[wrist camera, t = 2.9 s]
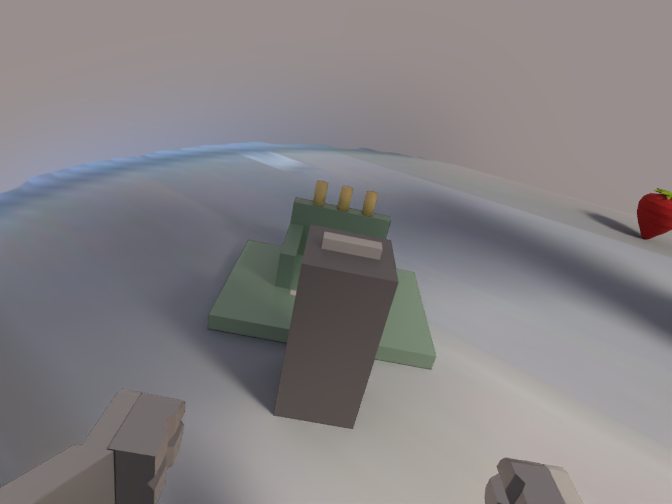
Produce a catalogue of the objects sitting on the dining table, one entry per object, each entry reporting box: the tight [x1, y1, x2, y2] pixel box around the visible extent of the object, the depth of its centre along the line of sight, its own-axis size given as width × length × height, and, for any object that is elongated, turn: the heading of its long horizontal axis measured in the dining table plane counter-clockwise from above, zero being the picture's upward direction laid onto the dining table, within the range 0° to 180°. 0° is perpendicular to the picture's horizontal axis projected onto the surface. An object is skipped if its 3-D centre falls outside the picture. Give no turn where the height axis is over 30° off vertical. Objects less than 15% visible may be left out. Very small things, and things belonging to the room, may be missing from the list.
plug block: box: [274, 225, 399, 429], centre depth 24 cm, size 5×5×11 cm
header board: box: [208, 181, 436, 369], centre depth 33 cm, size 12×16×8 cm
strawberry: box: [637, 188, 672, 239], centre depth 68 cm, size 6×8×10 cm
